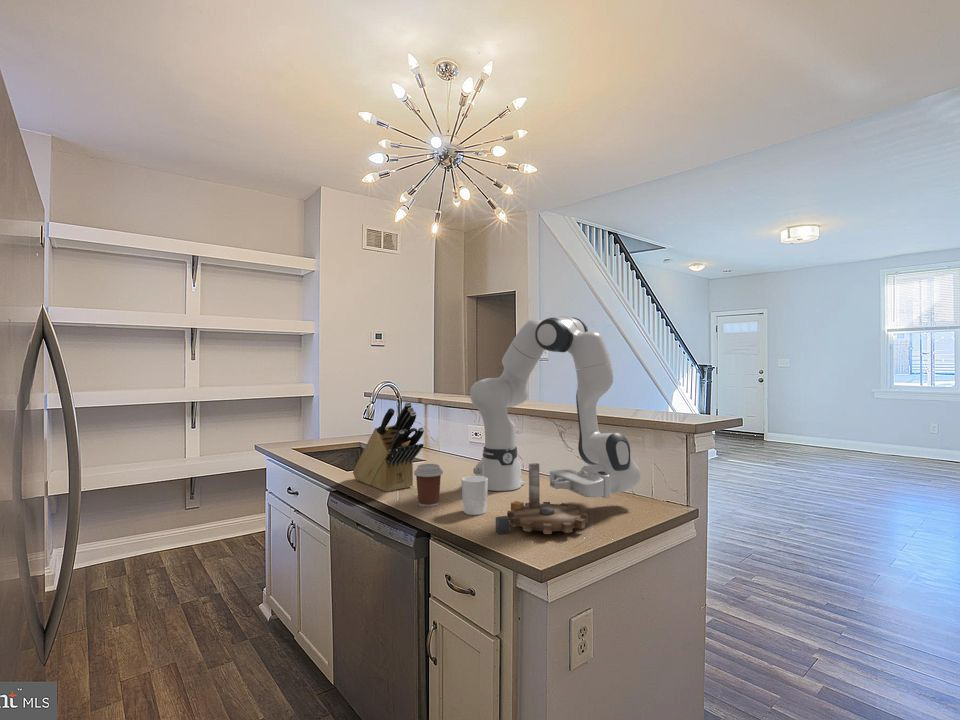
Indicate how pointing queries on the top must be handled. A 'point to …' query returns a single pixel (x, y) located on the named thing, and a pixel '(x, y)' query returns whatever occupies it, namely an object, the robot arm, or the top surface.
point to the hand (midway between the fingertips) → (552, 484)
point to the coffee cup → (428, 484)
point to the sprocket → (544, 511)
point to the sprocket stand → (502, 525)
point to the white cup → (474, 494)
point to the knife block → (390, 453)
